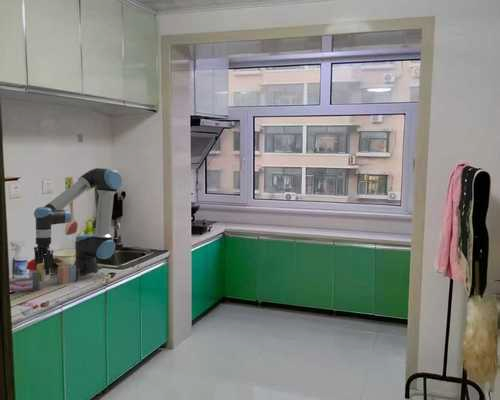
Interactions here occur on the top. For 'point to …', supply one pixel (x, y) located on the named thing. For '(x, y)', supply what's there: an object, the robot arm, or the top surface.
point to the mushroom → (31, 267)
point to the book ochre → (41, 271)
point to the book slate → (72, 272)
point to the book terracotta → (63, 274)
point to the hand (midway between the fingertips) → (43, 279)
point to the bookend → (35, 282)
